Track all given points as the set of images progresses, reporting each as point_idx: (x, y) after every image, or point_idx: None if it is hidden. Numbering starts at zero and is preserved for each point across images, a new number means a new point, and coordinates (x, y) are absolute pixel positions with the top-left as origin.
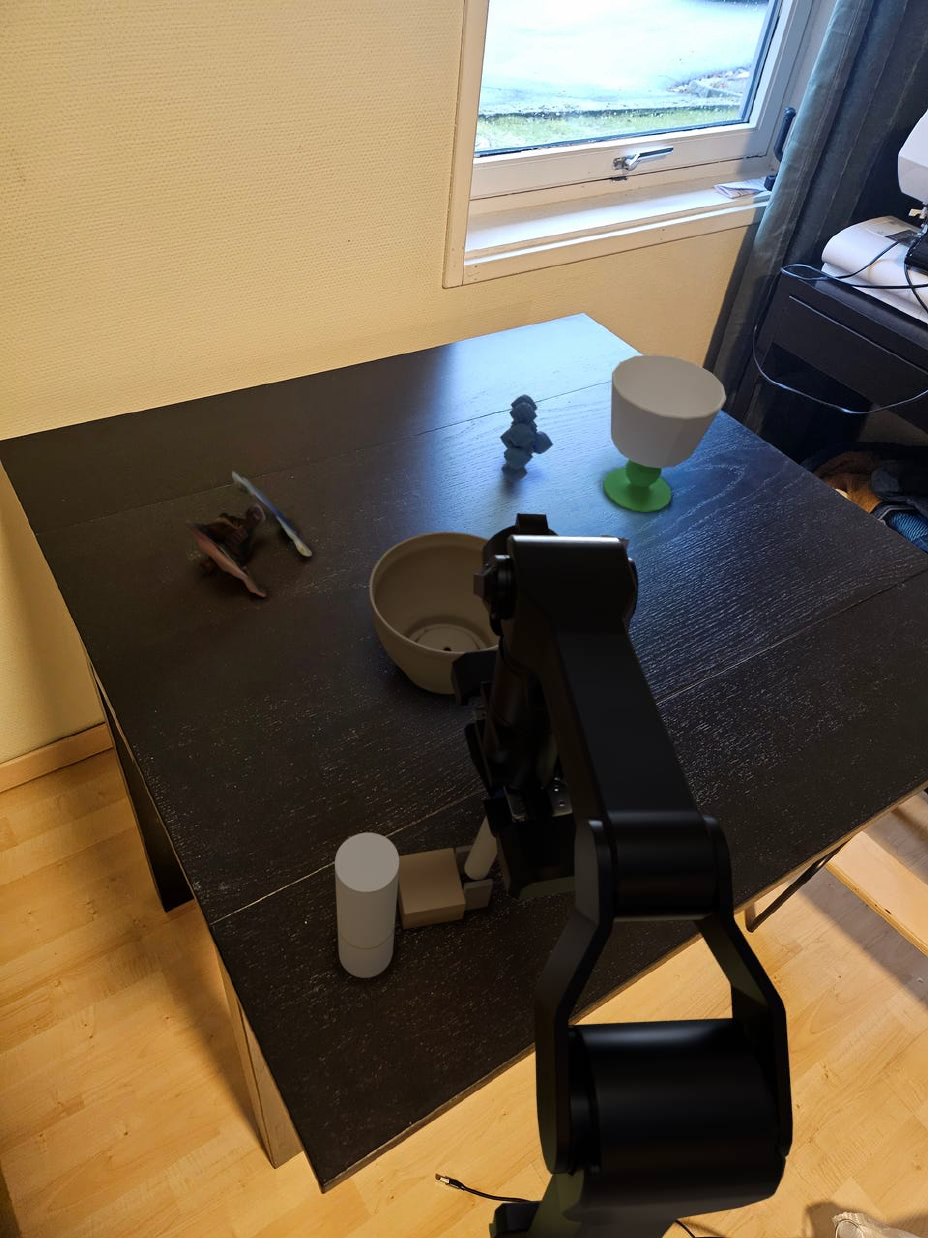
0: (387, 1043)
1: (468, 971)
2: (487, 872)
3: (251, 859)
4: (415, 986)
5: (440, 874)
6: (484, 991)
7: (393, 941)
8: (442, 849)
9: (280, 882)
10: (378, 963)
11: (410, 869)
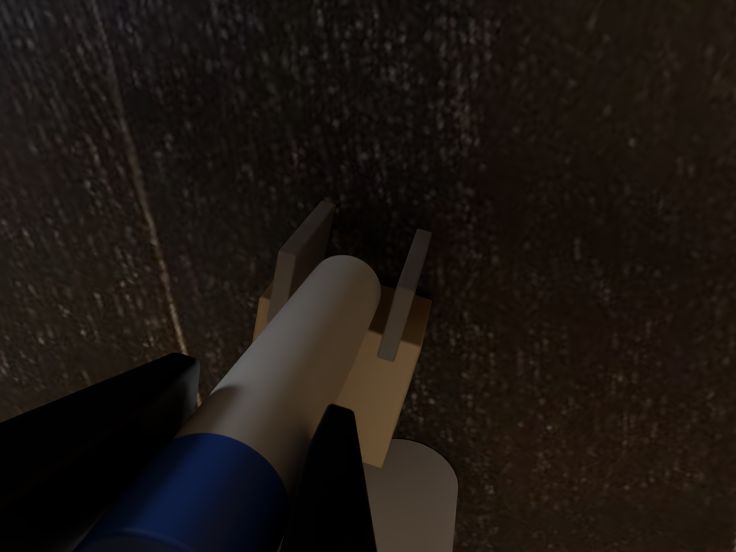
0: (586, 528)
1: (551, 347)
2: (373, 290)
3: None
4: (517, 445)
5: None
6: (614, 341)
7: (424, 494)
8: (256, 323)
9: None
10: (453, 533)
11: None
